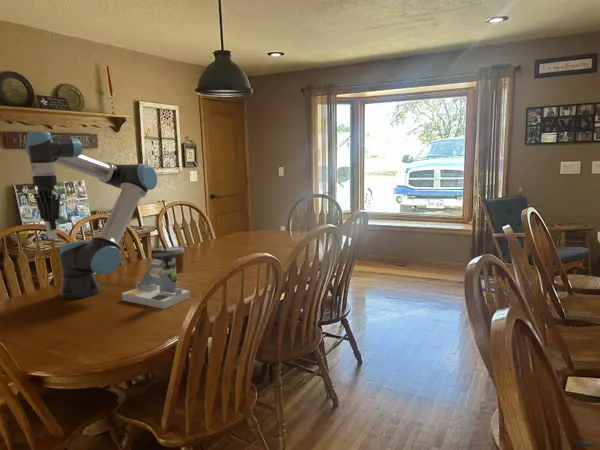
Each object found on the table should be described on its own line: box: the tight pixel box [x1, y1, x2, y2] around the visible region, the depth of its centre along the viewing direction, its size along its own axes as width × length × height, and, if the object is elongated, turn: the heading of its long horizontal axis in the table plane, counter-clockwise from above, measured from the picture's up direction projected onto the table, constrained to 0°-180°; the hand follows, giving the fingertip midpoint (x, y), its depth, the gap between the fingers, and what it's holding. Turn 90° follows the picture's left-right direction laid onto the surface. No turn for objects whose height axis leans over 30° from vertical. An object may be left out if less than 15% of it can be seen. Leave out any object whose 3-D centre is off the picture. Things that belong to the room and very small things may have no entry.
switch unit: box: [121, 280, 191, 310], centre depth 179 cm, size 24×14×5 cm, turn 61°
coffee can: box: [151, 251, 178, 286], centre depth 200 cm, size 10×10×14 cm
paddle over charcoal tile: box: [149, 267, 178, 293], centre depth 173 cm, size 7×3×13 cm
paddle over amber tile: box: [139, 259, 166, 288], centre depth 186 cm, size 7×3×13 cm
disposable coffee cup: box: [164, 245, 185, 274], centre depth 220 cm, size 10×10×12 cm
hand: (52, 238), depth 162 cm, fingers closed
